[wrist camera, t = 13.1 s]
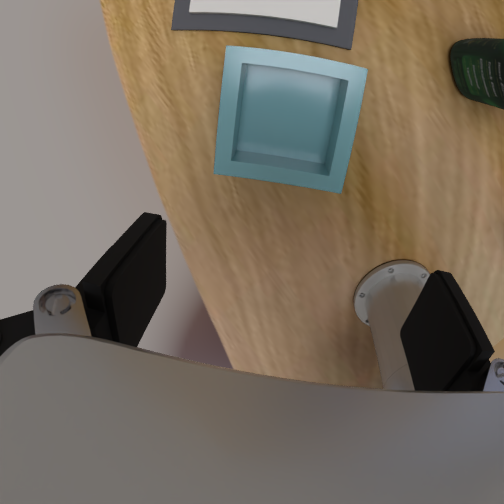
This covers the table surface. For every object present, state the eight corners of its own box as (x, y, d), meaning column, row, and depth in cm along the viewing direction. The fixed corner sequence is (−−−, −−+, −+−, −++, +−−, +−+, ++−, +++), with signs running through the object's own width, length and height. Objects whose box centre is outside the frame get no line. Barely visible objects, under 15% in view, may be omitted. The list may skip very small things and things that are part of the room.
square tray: (356, 68, 28) (367, 69, 24) (334, 177, 35) (341, 193, 31) (234, 48, 28) (226, 45, 24) (222, 159, 36) (213, 173, 31)
